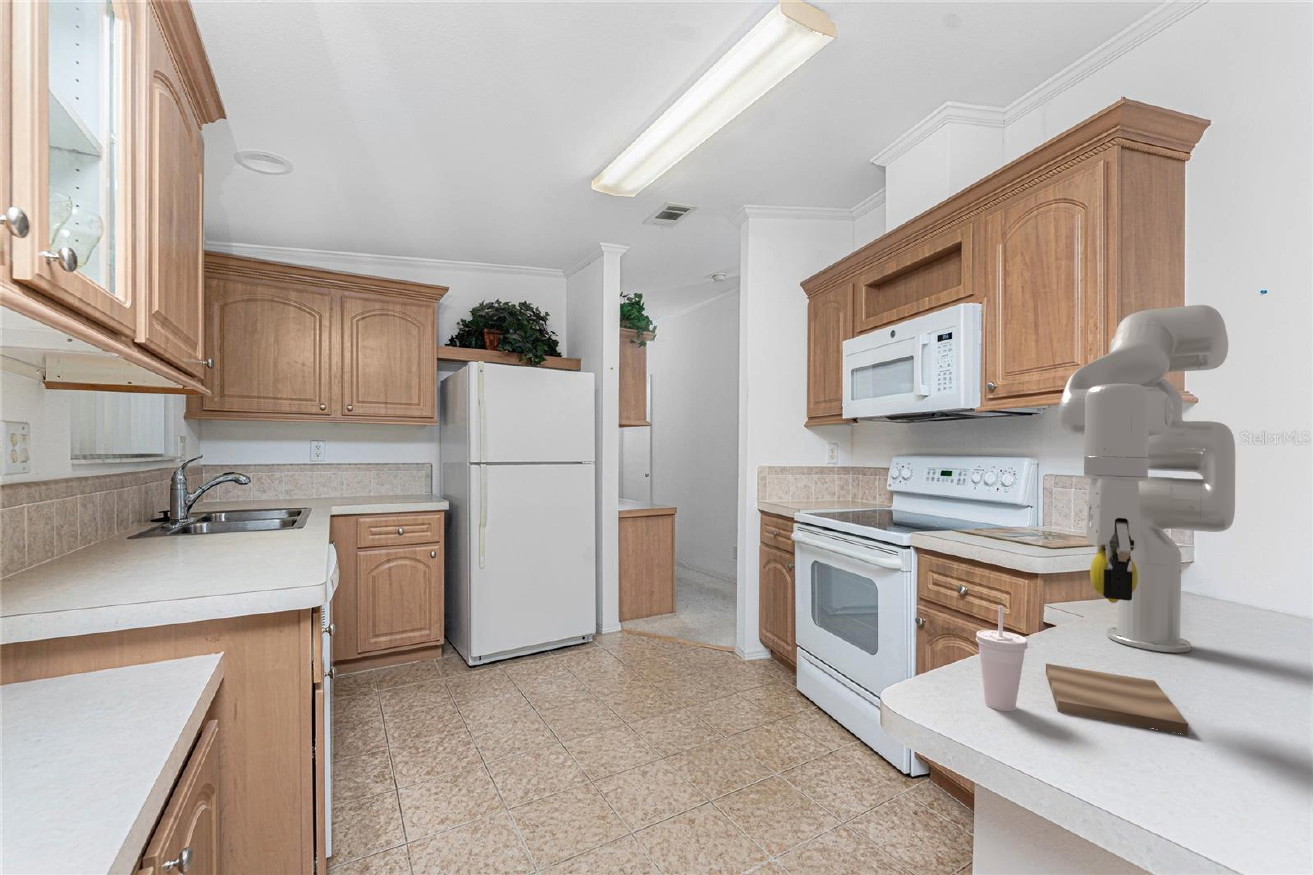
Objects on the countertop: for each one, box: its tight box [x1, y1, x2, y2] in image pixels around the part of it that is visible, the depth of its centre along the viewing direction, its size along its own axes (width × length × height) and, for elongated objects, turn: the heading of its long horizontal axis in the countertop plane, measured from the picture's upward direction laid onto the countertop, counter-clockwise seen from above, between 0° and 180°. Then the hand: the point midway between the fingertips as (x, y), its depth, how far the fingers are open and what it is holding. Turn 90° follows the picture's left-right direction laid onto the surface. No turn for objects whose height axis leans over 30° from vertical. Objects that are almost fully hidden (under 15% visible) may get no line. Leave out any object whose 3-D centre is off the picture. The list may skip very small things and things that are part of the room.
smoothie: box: [975, 605, 1029, 712], centre depth 87 cm, size 6×6×14 cm
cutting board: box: [1045, 663, 1189, 736], centre depth 90 cm, size 17×14×2 cm
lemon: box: [1089, 550, 1138, 604], centre depth 90 cm, size 6×6×8 cm
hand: (1112, 593), depth 90 cm, fingers closed on lemon, 5 cm apart
